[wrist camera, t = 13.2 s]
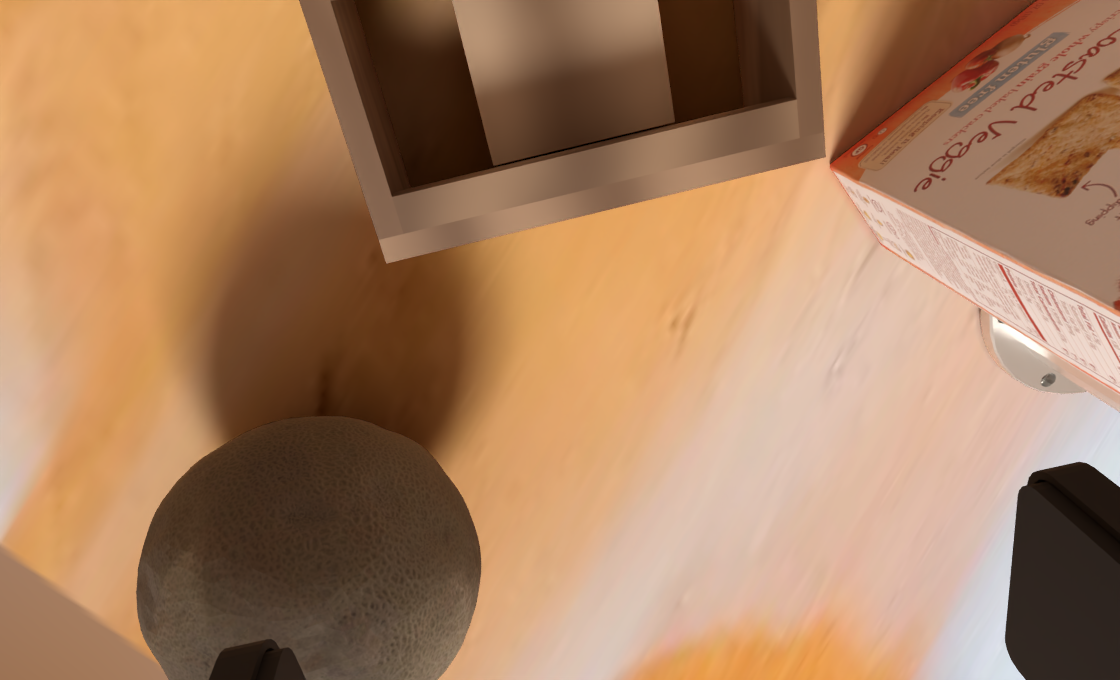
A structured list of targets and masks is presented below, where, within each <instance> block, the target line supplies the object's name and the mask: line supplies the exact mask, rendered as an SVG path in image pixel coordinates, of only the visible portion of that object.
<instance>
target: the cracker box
mask: <svg viewBox="0 0 1120 680" xmlns="http://www.w3.org/2000/svg"><path fill="white" fill-rule="evenodd" d="M830 168H831V170H832V171H833V173H834V174H835V175H836V177H837V179H838V180H839V182H840V183H841V185H842V186H843V188H844V189H845V191H846V192H847V194H848V195H849V197H850V198H851V200H852V201H853V203H854V204H855V206H856V207H857V209H858V210H859V212H860V213H861V215H862V216H863V218H864V219H865V221H866V222H867V224H868V225H869V227H870V228H871V230H872V231H873V233H874V234H875V236H876V237H877V239H878V240H879V242H880V244H881V245H882V246H883V247H885V248H886V249H888V250H889V251H891V252H892V253H894V254H895V255H897V256H898V257H900V258H902V259H903V260H905V261H906V262H908V263H910V264H911V265H913V266H914V267H916V268H917V269H919V270H920V271H922V272H924V273H925V274H927V275H928V276H930V277H931V278H933V279H935V280H936V281H938V282H939V283H941V284H942V285H944V286H946V287H947V288H949V289H950V290H952V291H954V292H955V293H957V294H958V295H960V296H962V297H963V298H965V299H966V300H968V301H969V302H971V303H973V304H974V305H976V306H977V307H979V308H980V309H982V310H984V311H985V312H987V313H988V314H990V315H992V316H993V317H995V318H997V319H998V320H1000V321H1001V322H1003V323H1005V324H1006V325H1008V326H1009V327H1011V328H1013V329H1014V330H1016V331H1017V332H1019V333H1021V334H1022V335H1024V336H1025V337H1027V338H1029V339H1030V340H1032V341H1033V342H1035V343H1036V344H1038V345H1040V346H1041V347H1043V348H1044V349H1046V350H1048V351H1049V352H1051V353H1052V354H1054V355H1056V356H1057V357H1059V358H1060V359H1062V360H1064V361H1065V362H1067V363H1068V364H1070V365H1072V366H1073V367H1075V368H1076V369H1078V370H1080V371H1081V372H1083V373H1084V374H1086V375H1088V376H1089V377H1091V378H1093V379H1094V380H1096V381H1097V382H1099V383H1101V384H1102V385H1104V386H1105V387H1107V388H1109V389H1110V390H1112V391H1114V392H1115V393H1117V394H1118V395H1120V0H1037V1H1035V2H1034V3H1033V4H1031V5H1030V6H1029V7H1028V8H1026V9H1025V10H1024V11H1023V12H1021V13H1020V14H1019V15H1018V16H1016V17H1015V18H1014V19H1013V20H1012V21H1010V22H1009V23H1008V24H1007V25H1006V26H1004V27H1003V28H1001V29H1000V30H999V31H998V32H996V33H995V34H994V35H993V36H991V37H990V38H989V39H988V40H986V41H985V42H984V43H983V44H981V45H980V46H979V47H978V48H976V49H975V50H974V51H972V52H971V53H970V54H969V55H967V56H966V57H965V58H964V59H962V60H961V61H960V62H959V63H957V64H956V65H955V66H954V67H952V68H951V69H950V70H949V71H947V72H946V73H945V74H943V75H942V76H941V77H940V78H939V79H937V80H936V81H935V82H933V83H932V84H931V85H930V86H928V87H927V88H926V89H925V90H923V91H922V92H921V93H920V94H918V95H917V96H916V97H915V98H913V99H912V100H911V101H910V102H908V103H907V104H906V105H904V106H903V107H902V108H901V109H899V110H898V111H897V112H896V113H894V114H893V115H892V116H891V117H889V118H888V119H887V120H885V121H884V122H883V123H882V124H880V125H879V126H878V127H877V128H875V129H874V130H873V131H872V132H870V133H869V134H868V135H866V136H865V137H864V138H863V139H861V140H860V141H859V142H858V143H856V144H855V145H854V146H853V147H851V148H850V149H849V150H847V151H846V152H845V153H844V154H842V155H841V156H840V157H839V158H837V159H836V160H835V161H834V162H832V163H831V164H830Z"/></svg>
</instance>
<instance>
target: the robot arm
mask: <svg viewBox="0 0 1120 680" xmlns="http://www.w3.org/2000/svg"><path fill="white" fill-rule="evenodd" d="M980 321H981V329H982V336H983V339H984V342H985V344H986V347H987V349H988V352H989V354H990V355H991V356H992V358H993V359H994V361H995V362H996V363H997V365H998V366H999V367H1000V368H1001V369H1003V370H1004V371H1005V372H1006V373H1007V374H1009V375H1010V376H1011V377H1013V378H1014V379H1016V380H1017V381H1019V382H1020V383H1022V384H1024V385H1025V386H1027V387H1029V388H1032V389H1035V390H1037V391H1040V392H1045V393H1054V394H1073V393H1083V392H1089V393H1090V394H1092V395H1093V396H1095V397H1097V398H1098V399H1100V400H1101V401H1103V402H1104V403H1106V404H1107V405H1109V406H1110V407H1112V408H1114V409H1115V410H1117V411H1118V412H1120V395H1118V394H1117V393H1115V392H1114V391H1112V390H1110V389H1109V388H1107V387H1105V386H1104V385H1102V384H1101V383H1099V382H1097V381H1096V380H1094V379H1093V378H1091V377H1089V376H1088V375H1086V374H1084V373H1083V372H1081V371H1080V370H1078V369H1076V368H1075V367H1073V366H1072V365H1070V364H1068V363H1067V362H1065V361H1064V360H1062V359H1060V358H1059V357H1057V356H1056V355H1054V354H1052V353H1051V352H1049V351H1048V350H1046V349H1044V348H1043V347H1041V346H1040V345H1038V344H1036V343H1035V342H1033V341H1032V340H1030V339H1029V338H1027V337H1025V336H1024V335H1022V334H1021V333H1019V332H1017V331H1016V330H1014V329H1013V328H1011V327H1009V326H1008V325H1006V324H1005V323H1003V322H1001V321H1000V320H998V319H997V318H995V317H993V316H992V315H990V314H988V313H987V312H985V311H984V310H982V309H981V313H980ZM1005 643H1006V647H1007V650H1008V653H1009V656H1010V658H1011V660H1012V662H1013V664H1014V665H1015V666H1016V668H1017V669H1018V671H1019V672H1020V673H1021V674H1022V676H1023V677H1024V678H1025V679H1026V680H1120V487H1119V486H1117V485H1116V484H1115V483H1113V482H1112V481H1111V480H1110V479H1108V478H1107V477H1106V476H1104V475H1103V474H1102V473H1100V472H1099V471H1098V470H1097V469H1095V468H1094V467H1092V466H1090V465H1089V464H1087V463H1082V462H1076V463H1072V464H1067V465H1063V466H1058V467H1054V468H1049V469H1044V470H1040V471H1036V472H1033V473H1032V474H1031V476H1030V477H1029V480H1028V484H1027V486H1023V487H1022V488H1021V489H1020V490H1019V493H1018V500H1017V511H1016V522H1015V533H1014V544H1013V555H1012V566H1011V577H1010V588H1009V599H1008V610H1007V621H1006V632H1005ZM209 680H306V678H305V676H304V674H303V672H302V669H301V667H300V665H299V663H298V661H297V659H296V656H295V654H294V653H293V651H292V649H290V648H289V647H287V648H282V649H280V648H279V646H278V645H277V643H276V642H275V641H274V640H272V639H266V640H261V641H257V642H252V643H248V644H243V645H239V646H234V647H229V648H225V649H224V650H222V651H221V652H220V654H219V656H218V658H217V659H216V662H215V665H214V667H213V670H212V673H211V675H210V678H209Z"/></svg>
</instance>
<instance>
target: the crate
mask: <svg viewBox="0 0 1120 680" xmlns="http://www.w3.org/2000/svg"><path fill="white" fill-rule="evenodd" d="M299 1H300V4H301V7H302V10H303V13H304V16H305V19H306V22H307V25H308V28H309V31H310V34H311V37H312V40H313V43H314V46H315V50H316V53H317V56H318V59H319V62H320V65H321V68H322V71H323V74H324V77H325V80H326V83H327V86H328V89H329V92H330V95H331V98H332V101H333V104H334V107H335V110H336V113H337V116H338V119H339V122H340V125H341V128H342V131H343V134H344V137H345V140H346V143H347V146H348V149H349V152H350V155H351V158H352V161H353V164H354V167H355V170H356V173H357V176H358V179H359V182H360V185H361V188H362V192H363V195H364V198H365V201H366V204H367V207H368V210H369V213H370V216H371V219H372V222H373V225H374V228H375V231H376V234H377V237H378V240H379V243H380V246H381V249H382V252H383V255H384V258H385V261H386V264H387V263H391V262H395V261H399V260H403V259H407V258H412V257H416V256H420V255H424V254H428V253H432V252H436V251H440V250H445V249H449V248H453V247H457V246H461V245H465V244H469V243H473V242H477V241H482V240H486V239H490V238H494V237H498V236H502V235H506V234H510V233H515V232H519V231H523V230H527V229H531V228H535V227H539V226H543V225H548V224H552V223H556V222H560V221H564V220H568V219H572V218H576V217H581V216H585V215H589V214H593V213H597V212H601V211H605V210H609V209H614V208H618V207H622V206H626V205H630V204H634V203H638V202H642V201H646V200H651V199H655V198H659V197H663V196H667V195H671V194H675V193H679V192H684V191H688V190H692V189H696V188H700V187H704V186H708V185H712V184H717V183H721V182H725V181H729V180H733V179H737V178H741V177H745V176H750V175H754V174H758V173H762V172H766V171H770V170H774V169H778V168H782V167H787V166H791V165H795V164H799V163H803V162H807V161H811V160H815V159H820V158H824V157H826V154H825V138H824V121H823V104H822V88H821V71H820V55H819V38H818V21H817V5H816V0H733V7H734V16H735V26H736V36H737V45H738V55H739V65H740V74H741V84H742V93H743V103H744V108H740V109H736V110H732V111H728V112H724V113H719V114H715V115H711V116H707V117H703V118H699V119H694V120H690V121H686V122H682V123H678V124H674V125H670V126H665V127H661V128H657V129H653V130H649V131H645V132H641V133H636V134H632V135H628V136H624V137H620V138H616V139H611V140H607V141H603V142H599V143H595V144H591V145H587V146H582V147H578V148H574V149H570V150H566V151H562V152H558V153H553V154H549V155H545V156H541V157H537V158H533V159H529V160H524V161H520V162H516V163H512V164H508V165H504V166H499V167H495V168H491V169H487V170H483V171H479V172H475V173H470V174H466V175H462V176H458V177H454V178H450V179H446V180H441V181H437V182H433V183H429V184H425V185H421V186H416V187H412V188H411V187H410V183H409V180H408V177H407V173H406V170H405V167H404V163H403V160H402V157H401V153H400V150H399V147H398V143H397V140H396V137H395V134H394V130H393V127H392V124H391V120H390V117H389V114H388V110H387V107H386V104H385V100H384V97H383V94H382V91H381V87H380V84H379V81H378V77H377V74H376V71H375V67H374V64H373V61H372V57H371V54H370V51H369V48H368V44H367V41H366V38H365V34H364V31H363V28H362V24H361V21H360V18H359V14H358V11H357V8H356V5H355V1H354V0H299ZM452 3H453V7H454V11H455V15H456V19H457V23H458V27H459V31H460V35H461V39H462V43H463V47H464V51H465V55H466V59H467V63H468V67H469V71H470V75H471V79H472V83H473V87H474V91H475V95H476V99H477V103H478V107H479V111H480V115H481V119H482V123H483V127H484V130H485V134H486V138H487V142H488V146H489V150H490V154H491V158H492V162H493V166H495V165H499V164H503V163H507V162H511V161H516V160H520V159H524V158H528V157H532V156H536V155H541V154H545V153H549V152H553V151H557V150H561V149H565V148H570V147H574V146H578V145H582V144H586V143H590V142H594V141H599V140H603V139H607V138H611V137H615V136H619V135H624V134H628V133H632V132H636V131H640V130H644V129H648V128H653V127H657V126H661V125H665V124H669V123H673V122H675V118H674V111H673V104H672V97H671V90H670V83H669V76H668V69H667V62H666V55H665V48H664V41H663V34H662V27H661V20H660V13H659V6H658V0H452Z"/></svg>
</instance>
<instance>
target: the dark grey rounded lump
mask: <svg viewBox="0 0 1120 680" xmlns="http://www.w3.org/2000/svg"><path fill="white" fill-rule="evenodd" d="M480 577H481V554H480V546H479V541H478V536H477V533H476V529H475V526H474V524H473V521H472V518H471V516H470V513H469V510H468V508H467V506H466V504H465V502H464V499H463V497H462V496H461V494H460V492H459V491H458V489H457V488H456V486H455V485H454V484H453V482H452V481H451V480H450V478H449V477H448V476H447V475H446V473H445V472H444V471H443V469H442V468H441V467H440V465H439V464H438V462H437V461H436V460H435V459H434V458H433V456H432V455H431V454H430V453H429V452H428V451H427V450H426V449H425V448H424V447H422V446H421V445H420V444H418V443H417V442H415V441H414V440H412V439H410V438H408V437H405V436H403V435H401V434H399V433H395V432H392V431H389V430H386V429H384V428H381V427H379V426H377V425H375V424H372V423H370V422H367V421H364V420H361V419H355V418H349V417H344V416H315V417H298V418H290V419H284V420H280V421H276V422H272V423H269V424H266V425H263V426H260V427H258V428H255V429H253V430H250V431H247V432H245V433H243V434H242V435H240V436H238V437H236V438H234V439H233V440H231V441H229V442H228V443H226V444H224V445H223V446H221V447H219V448H218V449H216V450H215V451H213V452H211V453H210V454H208V455H206V456H205V457H203V458H202V459H201V460H199V461H198V462H197V463H196V464H194V465H193V466H192V467H191V468H190V469H189V470H188V471H187V472H186V473H185V474H184V475H183V476H182V477H181V478H180V479H179V480H178V481H177V483H176V484H175V485H174V486H173V488H172V489H171V490H170V491H169V493H168V494H167V495H166V497H165V498H164V499H163V501H162V502H161V504H160V506H159V507H158V509H157V511H156V512H155V515H154V517H153V519H152V522H151V524H150V527H149V530H148V533H147V536H146V539H145V542H144V546H143V549H142V554H141V558H140V562H139V567H138V578H137V591H136V594H137V611H138V619H139V622H140V627H141V631H142V634H143V637H144V639H145V641H146V643H147V645H148V646H149V648H150V650H151V652H152V653H153V655H154V656H155V658H156V659H157V660H158V662H159V663H160V665H161V667H162V668H163V670H164V672H165V674H166V676H167V677H168V679H169V680H209V678H210V675H211V673H212V670H213V667H214V665H215V662H216V659H217V658H218V656H219V654H220V652H221V651H222V650H224V649H225V648H229V647H234V646H239V645H243V644H248V643H252V642H257V641H261V640H266V639H272V640H274V641H275V642H276V643H277V645H278V646H279V648H280V649H282V648H287V647H289V648H290V649H292V651H293V653H294V654H295V656H296V659H297V661H298V663H299V665H300V667H301V669H302V672H303V674H304V676H305V678H306V680H438V679H439V677H440V676H441V675H442V674H443V673H444V672H445V671H446V669H447V668H448V666H449V665H450V664H451V662H452V661H453V659H454V658H455V656H456V655H457V653H458V651H459V649H460V648H461V646H462V644H463V641H464V638H465V636H466V633H467V631H468V628H469V626H470V623H471V619H472V616H473V613H474V610H475V607H476V602H477V597H478V591H479V584H480Z"/></svg>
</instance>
